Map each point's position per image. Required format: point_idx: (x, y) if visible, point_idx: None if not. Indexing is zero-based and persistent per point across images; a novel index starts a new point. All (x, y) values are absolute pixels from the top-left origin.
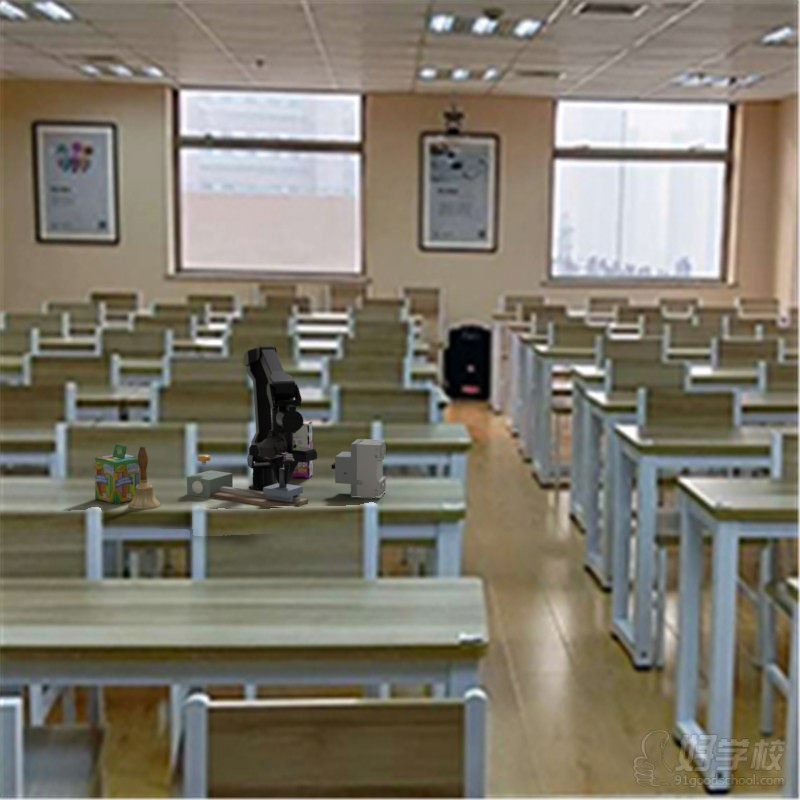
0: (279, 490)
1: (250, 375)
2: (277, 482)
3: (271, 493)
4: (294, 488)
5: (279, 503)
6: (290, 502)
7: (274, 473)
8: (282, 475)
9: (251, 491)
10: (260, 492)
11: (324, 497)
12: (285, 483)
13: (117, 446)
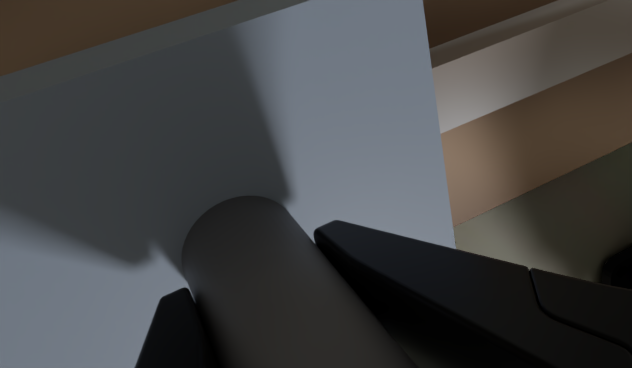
0: (64, 80)
1: None
2: (339, 220)
3: (230, 11)
4: (22, 357)
5: (57, 33)
6: None
7: (472, 259)
8: (264, 356)
9: (598, 18)
10: (506, 69)
11: None
12: (172, 297)
13: None
